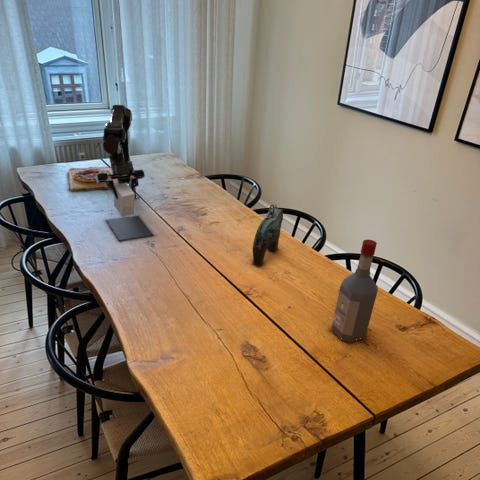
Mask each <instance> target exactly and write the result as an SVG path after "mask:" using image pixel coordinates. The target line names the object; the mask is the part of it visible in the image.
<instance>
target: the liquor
mask: <svg viewBox="0 0 480 480" xmlns="http://www.w3.org/2000/svg"><path fill="white" fill-rule="evenodd" d="M361 244H362V245H361V248H360V256H359V259H358V263H357V268H356V269H355V272H353V273H351V274H350V275H348V276H346V277H345V278H343V280H342V281H341V283H340V285H339V290H338V296H337V300H336V305H335V310H334V314H333V319H332V324H331V328H330V329H331V332H332V333H333V334H334V335H335V336H336V337H337V338H338V339H339V340H340V341H342V342H346V343H349V344H350V343H354V342H358V341H363V340H364V339H365V338H366V336H367V332H368V329H369V326H370V322H371V317H372V314H373V310H374V307H375V302H376V299H377V295H378V291H379V289H378V285H377V283H376V282H375V280H374V279H373V278H372V276H371V267H372V263H373V258H374V256H375V252H376V249H377V245H378V243H377V241H375V240H373V239H364V240H363V241H362V243H361ZM364 337H365V338H364ZM341 338H342V339H341ZM360 338H361V339H360ZM356 339H357V340H356Z"/></svg>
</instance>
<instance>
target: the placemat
mask: <svg viewBox="0 0 480 480" xmlns="http://www.w3.org/2000/svg"><path fill="white" fill-rule="evenodd" d="M106 222H107V224H108V225H109V227H110V228H111V231H112V232H113V233H114V235H115V236H116V238H117V240H118V241H119V242H122V241H124V242H125V241H130V240H136V239H143V238H144V239H145V238H149V237H154V234H153V233H152V231H151V230H150V229H149V228H148V226H146V225H147V224H145V223H144V222H143V219H141V218H140V216H139V215H134V216H133V215H132V216H124V217H119V218H111V219H106Z"/></svg>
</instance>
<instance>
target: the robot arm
mask: <svg viewBox="0 0 480 480" xmlns="http://www.w3.org/2000/svg"><path fill="white" fill-rule="evenodd" d="M132 122H133V113H132V110H131V109H129V108H128V107H126V106H125V105H123V104H113V105H112V107H111V108H110V121H109V122H107V123H106V124H105V127H104V129H103V135H102V136H103V137H102V141H103V144H102V145H103V146H102V147H103V150H104V151H105V153H107V154H108V158H109V164H110V167H111V169H112V174H113V175H107V173H102V174H98V175H97V176H96V181H97V183H104V182H105V183H104V185H107V186H108V187H109V188H108V189H110V191H111V193H112V194H113V197H114V196H115V198H116V199H118V198H117V193H116V190H115V187H114V183H113V179H118V184H122V183H127V184H128V186H129V187H130V188H131V190H132V191H133V192H134V194H135V199H138V198H139V197H140V196H139V195H137V190H136V188H137V187H138V186H139V185H140V184H139V180H141V179H144V178H145V177H146V175H145V170H143V169H135V168H134V164H133V161H132V160H131V151H130V150H131V149H130V136H129V130H130V128H131V126H132Z"/></svg>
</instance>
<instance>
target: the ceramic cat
mask: <svg viewBox="0 0 480 480" xmlns="http://www.w3.org/2000/svg"><path fill="white" fill-rule="evenodd" d="M267 211H268V212H267V214H266V217H265V218H264V219H263V220H262V221H261V222H260V223H259V225H258V227H257V229H256V232H255V235H254V239H253V242H252V259H253V260H252V265H254V266H258V267H261V266H262V265H263V264H264V259H265V256H266V253H267V250H268V251H269V252H276V251H277V250H278V248H279V242H280V236H281V231H282V230H281V229H282V224H283V223H282V222H283V220H284V211H283V209H280V208H278V207H277V205H276V204H270V206H269V209H268V210H267Z"/></svg>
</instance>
